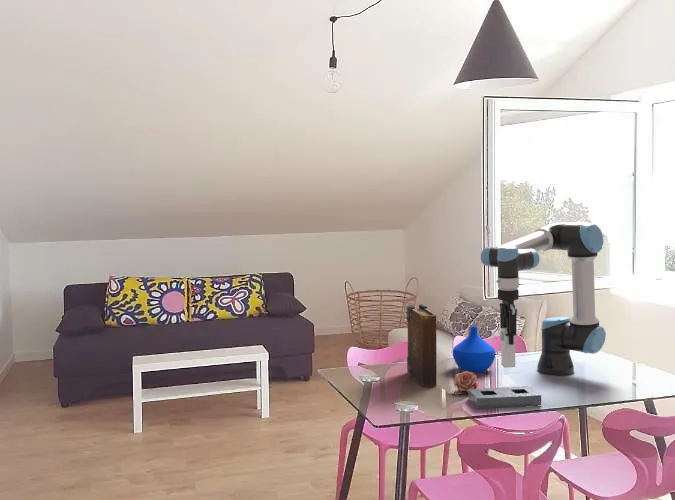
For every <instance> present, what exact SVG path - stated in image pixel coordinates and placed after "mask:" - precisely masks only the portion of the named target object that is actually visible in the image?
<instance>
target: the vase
mask: <svg viewBox="0 0 675 500" xmlns="http://www.w3.org/2000/svg"><path fill="white" fill-rule="evenodd" d="M469 328H470V329H469V330H470V334H469V335H468V336H467V337H466V338H464V339H463V340H461V341H460V342H459V343H458V344H456V345H455V346H453V350H452V358H453V360H454V363H455V364H456V366H458V368H459V369H460V370H462V372H465V371H469V372H473V373H475V374H480V373H485V372H486V371H487V370H489V369H490V367H491V366H492V365H493V363H494V361H495V360H496V359H495V358H496V349H495V348H494V347H493V345H490V343H488V342H487V341H485V340H484V339H483V338H482V337H481V336H480V335H479V334H478V326H474V325H473V326H470V327H469Z"/></svg>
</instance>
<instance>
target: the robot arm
mask: <svg viewBox="0 0 675 500" xmlns="http://www.w3.org/2000/svg"><path fill="white" fill-rule="evenodd" d="M603 245H604V235H603V232H602V229H601V228H600V227H599V226H598V225H597V224H595V223H588V222H571V221H570V222H567V221H562V222H561V221H560V222H555V223H552V224H549V225H546V226H543V227H540V228H537V229H536V230H535V231H534V233H531V234H528V235H526V236H523V237H520V238H518V239H517V238H516V239H515V240H512V241H510V242H507V243H504V244H502V245H498V246H486V247H484V248H483V249H482V251H481V253H480V260H481V261H480V262H481V264H482V265H483V266H486V267H490V268H492V267H493V268H497V279H496V283H497V288H498V289H497V299H498V300H499V301H501V302H500V303H499V310H500V311H499V314H500V315H499V317H500V318H499V320H500V321H499V322H500V325H499V327H500V329H501V328H507V334H505V335H506V353H514V336H515V337H516V336H517V314H518V309H517V308H516V305H515V303H514V302H515V301H517V300H519V298H520V297H519V293H520V292H519V288H520V284H519V283H520V281H519V280H520V279H519V278H520V277H519V272H521V271H526V270H527V271H528V270H531V269H534V268H536V267H537V266H538V265H539V264H540V255H539V253H538V252H540V251H542V252H546V251H549V250H550V251H551V250H559V251H560V250H561V251H567V258H569V259H570V261H571V284H572V287H571V288H572V312H573V314H572V315H573V316H572V317H571V318H570V317H568V316H557V317H556V316H553V317H547V318H544V319H543V320H542V323H541V329H540V330H541V354H540V355H539V356H540V357H539V359H538V362H537V367H536V368H537V371H538V372H539V373H541V374H545V375H551V376H566V375H567V376H568V375H571V374H574V373H575V372H574V371H575V365H574V363H573V360H572V356H571V351H575V352H581V353H584V354H590V355H591V354H593V355H595V354H597V353H598V352H600V351H601V350H602V348H603V346H604V345H605V342H606V337H607V335H606V330H605V328H604V327H603V326H601V325H600V320H599V319H598V317H596V301H595V300H596V299H595V298H596V297H595V295H596V292H595V263H594V262H595V259H596V258H597V257H598V253H599V252H601V250H602V249H603Z"/></svg>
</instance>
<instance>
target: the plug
mask: <svg viewBox="0 0 675 500" xmlns="http://www.w3.org/2000/svg"><path fill="white" fill-rule="evenodd" d="M505 334H507V328H500V334H499V336H500V337H499V338H500V340H501V341H500V342H501V343H500V344H501V346H500V347H501V350H500V351H501V355H500V356H501V359H500V361H501V364H500V365H501V366H502V367H503V368H506V369H507V368H516V335H515V336H514V353H506V335H505Z"/></svg>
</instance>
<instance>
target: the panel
mask: <svg viewBox="0 0 675 500" xmlns="http://www.w3.org/2000/svg"><path fill="white" fill-rule="evenodd" d="M467 399H468V401H469V402H470V403H471V404H472V405H473V407H474V408H475V409H476V410H489V409H490V410H491V409H492V410H493V409H494V410H495V409H508V408H509V409H510V408H511V409H512V408H527V407H526V406H534V407H539V406H538V405H541V406H542V394H540V393H539V392H538V391H537V390H535V388H533V387H532V386H530V385H526V386H525V385H524V386H504V387H486V388H485V387H484V388H481V387H480V388H476V389H468V392H467Z"/></svg>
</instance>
